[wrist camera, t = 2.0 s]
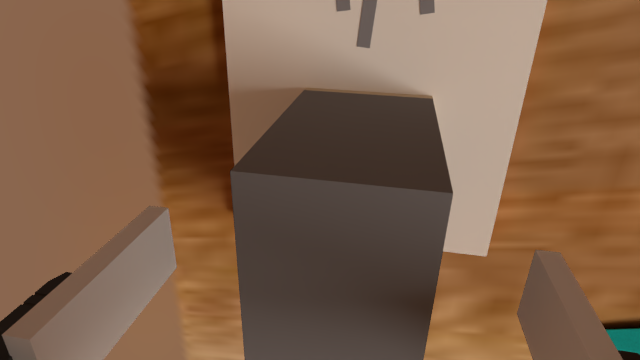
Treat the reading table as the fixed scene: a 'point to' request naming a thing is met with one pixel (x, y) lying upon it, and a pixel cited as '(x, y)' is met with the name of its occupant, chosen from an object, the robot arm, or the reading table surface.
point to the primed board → (396, 78)
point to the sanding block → (342, 228)
